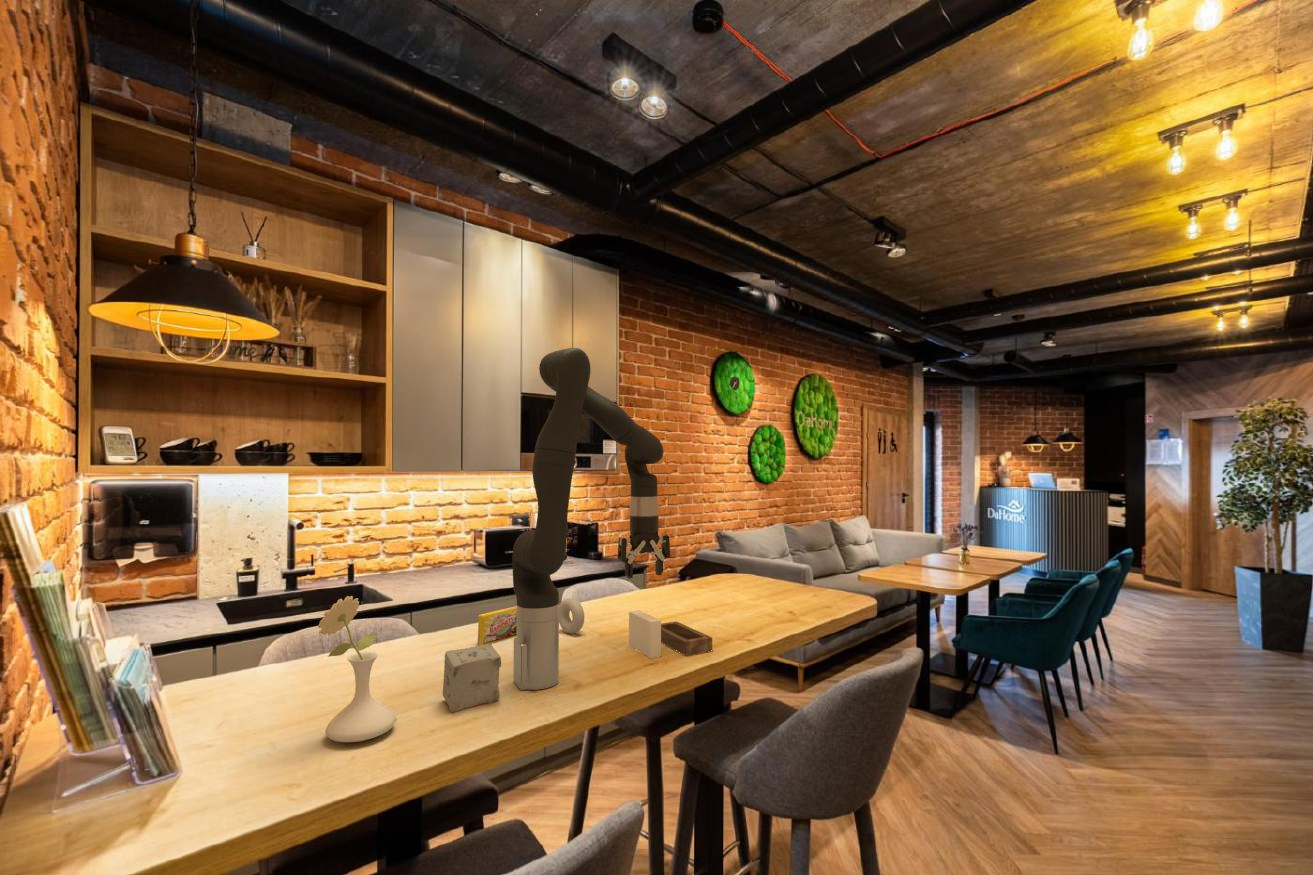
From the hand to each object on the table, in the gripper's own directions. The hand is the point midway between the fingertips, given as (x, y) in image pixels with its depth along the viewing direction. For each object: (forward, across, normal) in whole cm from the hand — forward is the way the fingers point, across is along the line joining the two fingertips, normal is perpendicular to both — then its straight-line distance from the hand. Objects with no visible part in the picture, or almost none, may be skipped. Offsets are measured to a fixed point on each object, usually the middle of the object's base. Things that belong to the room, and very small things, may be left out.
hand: (644, 576), depth 153 cm
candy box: (+19, -29, +28) cm, 45 cm away
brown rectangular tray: (+19, +11, 0) cm, 22 cm away
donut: (+19, -11, +24) cm, 33 cm away
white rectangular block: (+19, 0, 0) cm, 19 cm away
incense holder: (+19, -46, -12) cm, 51 cm away
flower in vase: (+19, -67, -17) cm, 72 cm away
